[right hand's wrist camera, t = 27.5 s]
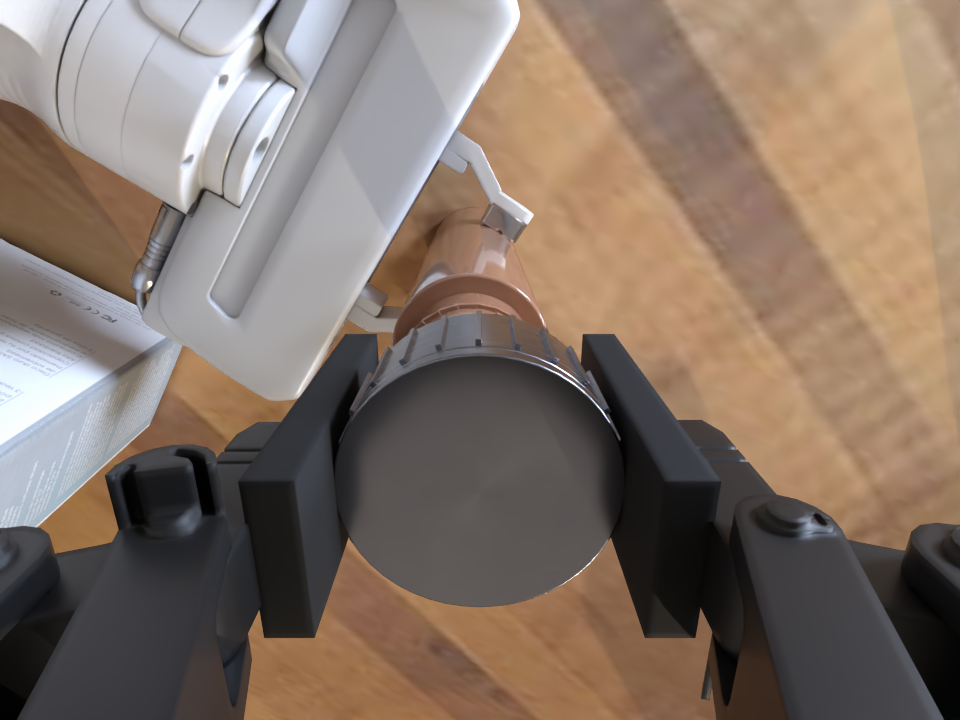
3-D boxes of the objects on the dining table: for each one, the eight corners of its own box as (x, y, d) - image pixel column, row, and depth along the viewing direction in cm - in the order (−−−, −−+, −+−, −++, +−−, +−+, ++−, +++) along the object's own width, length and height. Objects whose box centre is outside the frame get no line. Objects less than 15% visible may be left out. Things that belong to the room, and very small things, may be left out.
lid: (593, 292, 11) (622, 330, 9) (609, 515, 13) (637, 594, 11) (333, 327, 11) (295, 373, 9) (383, 541, 13) (363, 624, 11)
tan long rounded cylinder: (488, 299, 33) (506, 488, 15) (419, 264, 32) (349, 416, 14) (525, 231, 32) (595, 346, 14) (455, 192, 31) (428, 260, 13)
